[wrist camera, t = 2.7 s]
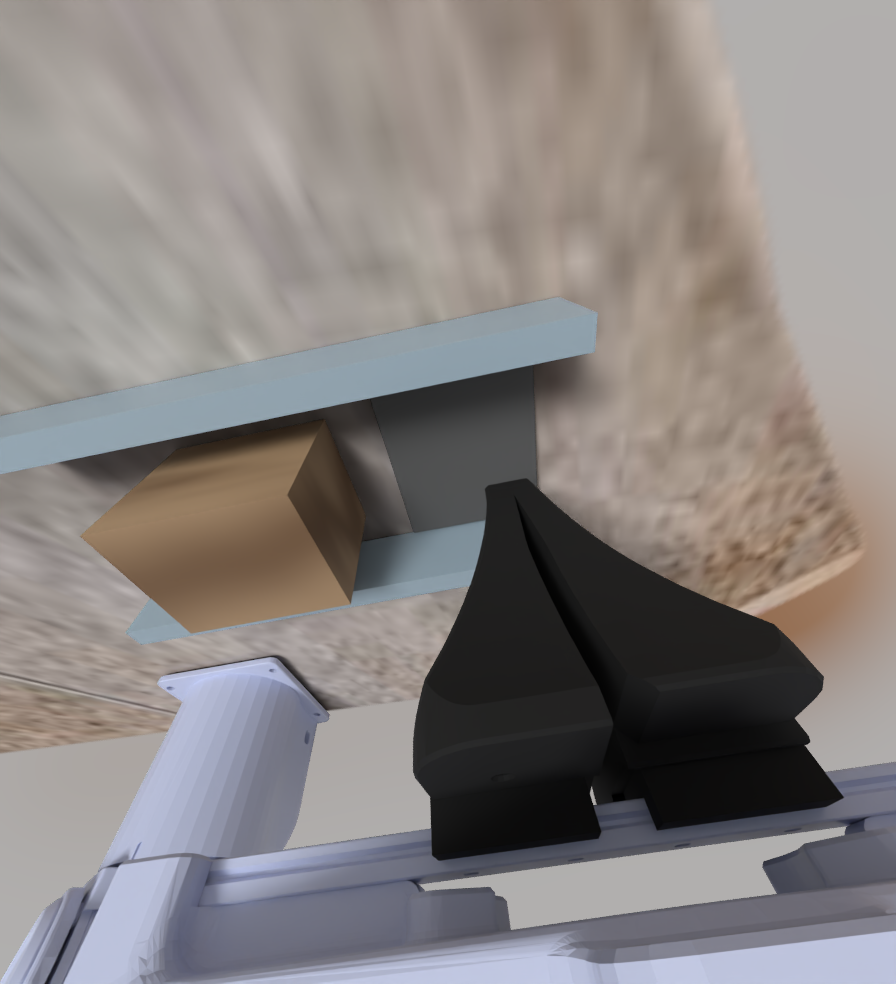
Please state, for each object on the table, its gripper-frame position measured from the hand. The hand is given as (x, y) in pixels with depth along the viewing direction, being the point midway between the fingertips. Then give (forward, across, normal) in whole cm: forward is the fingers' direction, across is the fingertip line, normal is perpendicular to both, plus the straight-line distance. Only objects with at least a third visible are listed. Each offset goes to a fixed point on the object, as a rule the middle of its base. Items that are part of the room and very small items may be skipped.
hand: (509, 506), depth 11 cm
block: (+4, +9, 0) cm, 10 cm away
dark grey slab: (+4, +1, 0) cm, 4 cm away
